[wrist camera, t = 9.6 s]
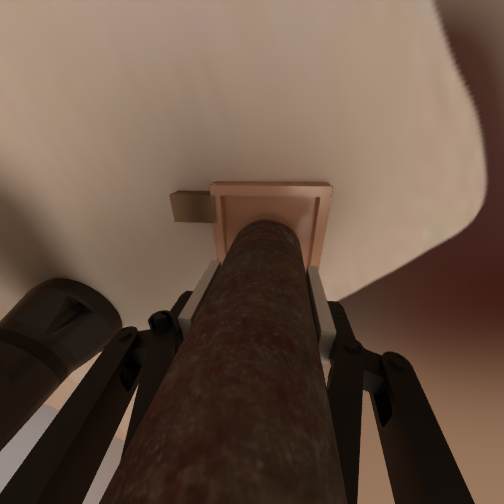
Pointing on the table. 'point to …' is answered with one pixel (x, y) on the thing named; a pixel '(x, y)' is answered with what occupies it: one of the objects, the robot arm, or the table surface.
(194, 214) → the matchbox
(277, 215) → the dish
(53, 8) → the table surface
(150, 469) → the dark brown tall piece
